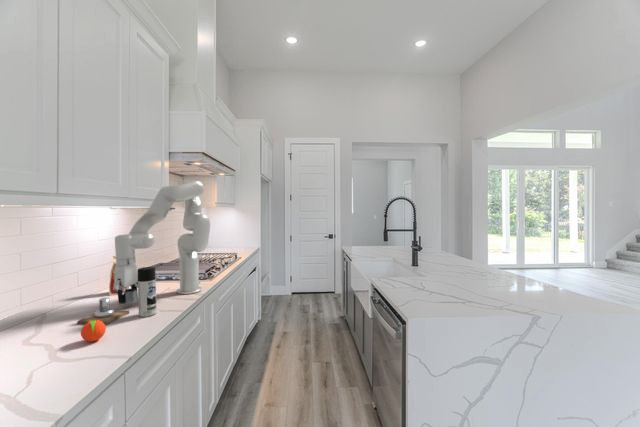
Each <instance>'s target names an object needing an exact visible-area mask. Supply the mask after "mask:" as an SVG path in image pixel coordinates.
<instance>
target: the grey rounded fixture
mask: <svg viewBox="0 0 640 427" xmlns="http://www.w3.org/2000/svg"><path fill="white" fill-rule="evenodd" d="M98 305H99V306H98V307H99V309H97V310H95V311H94V314H95V318H106V317H110V316H113V315H114V310H115V308H113V307H112V308H111V307H110V297H102V298H99V299H98Z"/></svg>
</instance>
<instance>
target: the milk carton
mask: <svg viewBox="0 0 640 427" xmlns="http://www.w3.org/2000/svg"><path fill="white" fill-rule="evenodd" d="M112 263H113V264H112V267H111V270H110V277H109V278H110V279H109V286H108V287H109V288H108V290H109V292H108V295H109V297H110V296H111V297H112V296H118V294H117V293H116V292H115V290H114V289H113V287H114V286H115V285H114V275H115V267H116V255H113V262H112ZM121 287H123V286H121ZM126 289H130V286H129V287H126ZM121 290H122V289H121Z"/></svg>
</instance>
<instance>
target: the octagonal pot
mask: <svg viewBox="0 0 640 427" xmlns="http://www.w3.org/2000/svg"><path fill="white" fill-rule="evenodd" d="M124 294H126V302H125V303H119V302H118V304H119V305H129V304H134V303H136V302H138V288H137V289H136V288H134V289H130V288H129V289H125V293H124Z"/></svg>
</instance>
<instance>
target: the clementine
mask: <svg viewBox="0 0 640 427" xmlns="http://www.w3.org/2000/svg"><path fill="white" fill-rule="evenodd" d="M106 331H107V328H106V325H104V323H103V322H101V321H99V320H93V321H90V322H88V323H86V324H83V327H82V328H81V330H80V337H81V338H82V339H83V340H84V341H86V342H87V343H89V342H90V343H91V342H97V341H99V340H100V339H101V338H103V336H104V335H105V333H106Z"/></svg>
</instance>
